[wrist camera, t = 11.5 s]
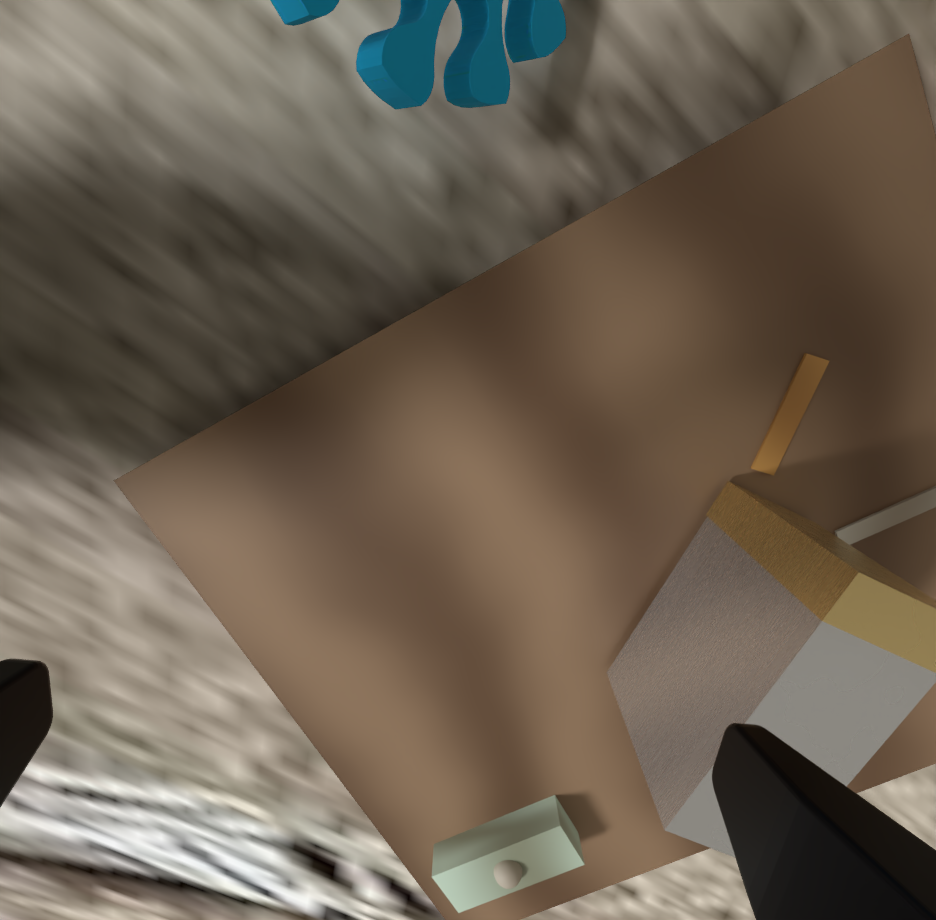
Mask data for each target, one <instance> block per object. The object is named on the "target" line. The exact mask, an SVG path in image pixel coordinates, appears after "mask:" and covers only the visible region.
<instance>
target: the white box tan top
mask: <svg viewBox="0 0 936 920" xmlns="http://www.w3.org/2000/svg"><path fill="white" fill-rule="evenodd" d="M706 516H707V518H706V520H705V521H704V523H703V524H702V526H701V527H700V529H699V531H698V532H697V534H696V535H695V537H694V538H693V540H692V541H691V543H690V544H689V546H688V548H687V549H686V551H685V552H684V554H683V555H682V557H681V558H680V560H679V561H678V563H677V565H676V566H675V568H674V569H673V571H672V572H671V574H670V575H669V577H668V579H667V580H666V582H665V583H664V585H663V586H662V588H661V589H660V591H659V592H658V594H657V596H656V597H655V599H654V600H653V602H652V603H651V605H650V606H649V608H648V609H647V611H646V613H645V614H644V616H643V617H642V619H641V620H640V622H639V623H638V625H637V627H636V628H635V630H634V631H633V633H632V634H631V636H630V637H629V639H628V640H627V642H626V644H625V645H624V647H623V648H622V650H621V651H620V653H619V654H618V656H617V657H616V659H615V661H614V662H613V664H612V665H611V667H610V668H609V670H608V671H607V675H608V678H609V681H610V683H611V686H612V689H613V691H614V694H615V697H616V700H617V702H618V705H619V708H620V711H621V713H622V716H623V719H624V721H625V724H626V727H627V730H628V732H629V735H630V738H631V741H632V743H633V746H634V749H635V751H636V754H637V757H638V760H639V762H640V765H641V768H642V771H643V773H644V776H645V779H646V781H647V784H648V787H649V790H650V792H651V795H652V798H653V801H654V803H655V806H656V809H657V811H658V814H659V817H660V820H661V822H662V825H663V828H664V830H665V831H668V832H670V833H673V834H676V835H678V836H681V837H683V838H686V839H689V840H691V841H694V842H696V843H699V844H702V845H704V846H707V847H709V848H712V849H715V850H717V851H720V852H722V853H725V854H728V855H730V856H733V857H735V854H734V851H733V848H732V845H731V842H730V839H729V836H728V833H727V829H726V826H725V823H724V820H723V817H722V814H721V811H720V807H719V804H718V801H717V798H716V795H715V792H714V788H713V783H712V770H713V766H714V762H715V759H716V756H717V753H718V750H719V747H720V744H721V741H722V738H723V735H724V732H725V729H726V728H727V727H728V725H730V724H732V723H744V724H755V725H760V726H762V727H764V728H765V729H767V730H768V731H770V732H771V733H772V734H774V735H775V736H777V737H778V738H779V739H781V740H782V741H784V742H785V743H786V744H788V745H789V746H791V747H792V748H793V749H795V750H796V751H798V752H799V753H800V754H802V755H803V756H805V757H806V758H807V759H809V760H810V761H812V762H813V763H814V764H816V765H817V766H819V767H820V768H821V769H823V770H824V771H826V772H827V773H828V774H830V775H831V776H833V777H834V778H835V779H837V780H838V781H840V782H841V783H842V784H844V785H845V786H848V784H849V783H850V782H851V781H852V780H853V779H854V777H855V776H856V775H857V774H858V773H859V772H860V770H861V769H862V768H863V767H864V766H865V764H866V763H867V762H868V761H869V760H870V759H871V757H872V756H873V755H874V754H875V753H876V752H877V750H878V749H879V748H880V747H881V746H882V745H883V743H884V742H885V741H886V740H887V739H888V738H889V736H890V735H891V734H892V733H893V732H894V731H895V729H896V728H897V727H898V726H899V725H900V724H901V722H902V721H903V720H904V719H905V718H906V716H907V715H908V714H909V713H910V712H911V711H912V709H913V708H914V707H915V706H916V705H917V704H918V702H919V701H920V700H921V699H922V698H923V697H924V695H925V694H926V693H927V692H928V691H929V690H930V688H931V687H932V686H933V685H934V684H935V683H936V600H934V599H933V598H931V597H930V596H928V595H927V594H925V593H924V592H922V591H920V590H919V589H917V588H916V587H914V586H913V585H911V584H910V583H908V582H906V581H905V580H903V579H902V578H900V577H899V576H897V575H896V574H894V573H893V572H891V571H889V570H888V569H886V568H885V567H883V566H882V565H880V564H879V563H877V562H875V561H874V560H872V559H871V558H869V557H868V556H866V555H865V554H863V553H862V552H860V551H858V550H857V549H855V548H854V547H852V546H851V545H849V544H848V543H846V542H844V541H843V540H841V539H840V538H838V537H837V536H835V535H834V534H832V533H830V532H829V531H827V530H826V529H824V528H823V527H821V526H820V525H818V524H817V523H815V522H813V521H811V520H809V519H807V518H805V517H802V516H800V515H798V514H796V513H794V512H792V511H790V510H788V509H786V508H784V507H782V506H780V505H778V504H775V503H773V502H771V501H769V500H767V499H765V498H763V497H761V496H759V495H757V494H755V493H753V492H751V491H748V490H746V489H744V488H742V487H740V486H738V485H736V484H734V483H732V482H730V481H727V482H726V484H725V486H724V487H723V489H722V490H721V492H720V493H719V495H718V496H717V498H716V500H715V501H714V503H713V504H712V506H711V507H710V509H709V510H708V512H707V514H706Z"/></svg>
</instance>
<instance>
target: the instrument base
mask: <svg viewBox="0 0 936 920" xmlns="http://www.w3.org/2000/svg"><path fill="white" fill-rule="evenodd" d="M727 481H730V482H732V483H734V484H736V485H738V486H740V487H742V488H744V489H746V490H748V491H751V492H753V493H755V494H757V495H759V496H761V497H763V498H765V499H767V500H769V501H771V502H773V503H775V504H778V505H780V506H782V507H784V508H786V509H788V510H790V511H792V512H794V513H796V514H798V515H800V516H802V517H805V518H807V519H809V520H811V521H813V522H815V523H817V524H818V525H820V526H821V527H823V528H824V529H826V530H827V531H829V532H830V533H832V534H834V535H835V536H837V537H838V538H840V539H841V540H843V541H844V542H846V543H848V544H849V545H851V546H852V547H854V548H855V549H857V550H858V551H860V552H862V553H863V554H865V555H866V556H868V557H869V558H871V559H872V560H874V561H875V562H877V563H879V564H880V565H882V566H883V567H885V568H886V569H888V570H889V571H891V572H893V573H894V574H896V575H897V576H899V577H900V578H902V579H903V580H905V581H906V582H908V583H910V584H911V585H913V586H914V587H916V588H917V589H919V590H920V591H922V592H924V593H925V594H927V595H928V596H930V597H931V598H933V599H934V600H936V135H935V132H934V128H933V124H932V120H931V116H930V112H929V108H928V105H927V101H926V97H925V93H924V89H923V85H922V81H921V78H920V74H919V70H918V66H917V62H916V58H915V54H914V51H913V47H912V43H911V39H910V35H909V34H907V35H906V36H904V37H902V38H900V39H899V40H897V41H895V42H893V43H891V44H890V45H888V46H886V47H884V48H883V49H881V50H879V51H877V52H875V53H874V54H872V55H870V56H868V57H866V58H865V59H863V60H861V61H859V62H858V63H856V64H854V65H852V66H850V67H849V68H847V69H845V70H843V71H842V72H840V73H838V74H836V75H834V76H833V77H831V78H829V79H827V80H826V81H824V82H822V83H820V84H818V85H817V86H815V87H813V88H811V89H810V90H808V91H806V92H804V93H802V94H801V95H799V96H797V97H795V98H794V99H792V100H790V101H788V102H786V103H785V104H783V105H781V106H779V107H778V108H776V109H774V110H772V111H770V112H769V113H767V114H765V115H763V116H762V117H760V118H758V119H756V120H754V121H753V122H751V123H749V124H747V125H746V126H744V127H742V128H740V129H738V130H737V131H735V132H733V133H731V134H730V135H728V136H726V137H724V138H722V139H721V140H719V141H717V142H715V143H714V144H712V145H710V146H708V147H706V148H705V149H703V150H701V151H699V152H697V153H696V154H694V155H692V156H690V157H689V158H687V159H685V160H683V161H681V162H680V163H678V164H676V165H674V166H673V167H671V168H669V169H667V170H665V171H664V172H662V173H660V174H658V175H657V176H655V177H653V178H651V179H649V180H648V181H646V182H644V183H642V184H641V185H639V186H637V187H635V188H633V189H632V190H630V191H628V192H626V193H625V194H623V195H621V196H619V197H617V198H616V199H614V200H612V201H610V202H609V203H607V204H605V205H603V206H601V207H600V208H598V209H596V210H594V211H593V212H591V213H589V214H587V215H585V216H584V217H582V218H580V219H578V220H577V221H575V222H573V223H571V224H569V225H568V226H566V227H564V228H562V229H561V230H559V231H557V232H555V233H553V234H552V235H550V236H548V237H546V238H545V239H543V240H541V241H539V242H537V243H536V244H534V245H532V246H530V247H528V248H527V249H525V250H523V251H521V252H520V253H518V254H516V255H514V256H512V257H511V258H509V259H507V260H505V261H504V262H502V263H500V264H498V265H496V266H495V267H493V268H491V269H489V270H488V271H486V272H484V273H482V274H480V275H479V276H477V277H475V278H473V279H472V280H470V281H468V282H466V283H464V284H463V285H461V286H459V287H457V288H456V289H454V290H452V291H450V292H448V293H447V294H445V295H443V296H441V297H440V298H438V299H436V300H434V301H432V302H431V303H429V304H427V305H425V306H424V307H422V308H420V309H418V310H416V311H415V312H413V313H411V314H409V315H408V316H406V317H404V318H402V319H400V320H399V321H397V322H395V323H393V324H392V325H390V326H388V327H386V328H384V329H383V330H381V331H379V332H377V333H376V334H374V335H372V336H370V337H368V338H367V339H365V340H363V341H361V342H359V343H358V344H356V345H354V346H352V347H351V348H349V349H347V350H345V351H343V352H342V353H340V354H338V355H336V356H335V357H333V358H331V359H329V360H327V361H326V362H324V363H322V364H320V365H319V366H317V367H315V368H313V369H311V370H310V371H308V372H306V373H304V374H303V375H301V376H299V377H297V378H295V379H294V380H292V381H290V382H288V383H287V384H285V385H283V386H281V387H279V388H278V389H276V390H274V391H272V392H271V393H269V394H267V395H265V396H263V397H262V398H260V399H258V400H256V401H255V402H253V403H251V404H249V405H247V406H246V407H244V408H242V409H240V410H239V411H237V412H235V413H233V414H231V415H230V416H228V417H226V418H224V419H223V420H221V421H219V422H217V423H215V424H214V425H212V426H210V427H208V428H207V429H205V430H203V431H201V432H199V433H198V434H196V435H194V436H192V437H190V438H189V439H187V440H185V441H183V442H182V443H180V444H178V445H176V446H174V447H173V448H171V449H169V450H167V451H166V452H164V453H162V454H160V455H158V456H157V457H155V458H153V459H151V460H150V461H148V462H146V463H144V464H142V465H141V466H139V467H137V468H135V469H134V470H132V471H130V472H128V473H126V474H125V475H123V476H121V477H119V478H118V479H116V480H114V482H115V483H116V484H117V486H118V487H119V488H120V490H121V491H122V492H123V494H124V495H125V496H126V498H127V499H128V500H129V502H130V503H131V504H132V506H133V507H134V508H135V510H136V511H137V512H138V514H139V515H140V516H141V517H142V519H143V520H144V521H145V523H146V524H147V525H148V527H149V528H150V529H151V531H152V532H153V533H154V535H155V536H156V537H157V539H158V540H159V541H160V543H161V544H162V545H163V547H164V548H165V549H166V551H167V552H168V553H169V555H170V556H171V557H172V559H173V560H174V561H175V562H176V564H177V565H178V566H179V568H180V569H181V570H182V572H183V573H184V574H185V576H186V577H187V578H188V580H189V581H190V582H191V584H192V585H193V586H194V588H195V589H196V590H197V592H198V593H199V594H200V596H201V597H202V598H203V600H204V601H205V602H206V603H207V605H208V606H209V607H210V609H211V610H212V611H213V613H214V614H215V615H216V617H217V618H218V619H219V621H220V622H221V623H222V625H223V626H224V627H225V629H226V630H227V631H228V633H229V634H230V635H231V637H232V638H233V639H234V641H235V642H236V643H237V644H238V646H239V647H240V648H241V650H242V651H243V652H244V654H245V655H246V656H247V658H248V659H249V660H250V662H251V663H252V664H253V666H254V667H255V668H256V670H257V671H258V672H259V674H260V675H261V676H262V678H263V679H264V680H265V682H266V683H267V684H268V685H269V687H270V688H271V689H272V691H273V692H274V693H275V695H276V696H277V697H278V699H279V700H280V701H281V703H282V704H283V705H284V707H285V708H286V709H287V711H288V712H289V713H290V715H291V716H292V717H293V719H294V720H295V721H296V723H297V724H298V725H299V727H300V728H301V729H302V730H303V732H304V733H305V734H306V736H307V737H308V738H309V740H310V741H311V742H312V744H313V745H314V746H315V748H316V749H317V750H318V752H319V753H320V754H321V756H322V757H323V758H324V760H325V761H326V762H327V764H328V765H329V766H330V768H331V769H332V770H333V771H334V773H335V774H336V775H337V777H338V778H339V779H340V781H341V782H342V783H343V785H344V786H345V787H346V789H347V790H348V791H349V793H350V794H351V795H352V797H353V798H354V799H355V801H356V802H357V803H358V805H359V806H360V807H361V809H362V810H363V811H364V812H365V814H366V815H367V816H368V818H369V819H370V820H371V822H372V823H373V824H374V826H375V827H376V828H377V830H378V831H379V832H380V834H381V835H382V836H383V838H384V839H385V840H386V842H387V843H388V844H389V846H390V847H391V848H392V850H393V851H394V852H395V854H396V855H397V856H398V857H399V859H400V860H401V861H402V863H403V864H404V865H405V867H406V868H407V869H408V871H409V872H410V873H411V875H412V876H413V877H414V879H415V880H416V881H417V883H418V884H419V885H420V887H421V888H422V889H423V891H424V892H425V893H426V895H427V896H428V897H429V898H430V900H431V901H432V902H433V904H434V905H435V906H436V908H437V909H438V910H439V912H440V913H441V914H442V916H443V917H444V918H445V920H520V919H523V918H525V917H528V916H531V915H533V914H536V913H539V912H541V911H544V910H547V909H549V908H552V907H555V906H557V905H560V904H563V903H565V902H568V901H571V900H573V899H576V898H579V897H581V896H584V895H587V894H589V893H592V892H595V891H597V890H600V889H603V888H605V887H608V886H611V885H613V884H616V883H619V882H621V881H624V880H627V879H629V878H632V877H635V876H637V875H640V874H643V873H645V872H648V871H651V870H653V869H656V868H658V867H661V866H664V865H666V864H669V863H672V862H674V861H677V860H680V859H682V858H685V857H688V856H690V855H693V854H696V853H698V852H701V851H704V850H706V849H709V847H707V846H704V845H702V844H699V843H696V842H694V841H691V840H689V839H686V838H683V837H681V836H678V835H676V834H673V833H670V832H668V831H665V830H664V828H663V825H662V822H661V820H660V817H659V814H658V811H657V809H656V806H655V803H654V801H653V798H652V795H651V792H650V790H649V787H648V784H647V781H646V779H645V776H644V773H643V771H642V768H641V765H640V762H639V760H638V757H637V754H636V751H635V749H634V746H633V743H632V741H631V738H630V735H629V732H628V730H627V727H626V724H625V721H624V719H623V716H622V713H621V711H620V708H619V705H618V702H617V700H616V697H615V694H614V691H613V689H612V686H611V683H610V681H609V678H608V675H607V671H608V670H609V668H610V667H611V665H612V664H613V662H614V661H615V659H616V657H617V656H618V654H619V653H620V651H621V650H622V648H623V647H624V645H625V644H626V642H627V640H628V639H629V637H630V636H631V634H632V633H633V631H634V630H635V628H636V627H637V625H638V623H639V622H640V620H641V619H642V617H643V616H644V614H645V613H646V611H647V609H648V608H649V606H650V605H651V603H652V602H653V600H654V599H655V597H656V596H657V594H658V592H659V591H660V589H661V588H662V586H663V585H664V583H665V582H666V580H667V579H668V577H669V575H670V574H671V572H672V571H673V569H674V568H675V566H676V565H677V563H678V561H679V560H680V558H681V557H682V555H683V554H684V552H685V551H686V549H687V548H688V546H689V544H690V543H691V541H692V540H693V538H694V537H695V535H696V534H697V532H698V531H699V529H700V527H701V526H702V524H703V523H704V521H705V520H706V518H707V516H706V514H707V512H708V510H709V509H710V507H711V506H712V504H713V503H714V501H715V500H716V498H717V496H718V495H719V493H720V492H721V490H722V489H723V487H724V486H725V484H726V482H727ZM935 763H936V683H935V684H934V685H933V686H932V687H931V688H930V690H929V691H928V692H927V693H926V694H925V695H924V697H923V698H922V699H921V700H920V701H919V702H918V704H917V705H916V706H915V707H914V708H913V709H912V711H911V712H910V713H909V714H908V715H907V716H906V718H905V719H904V720H903V721H902V722H901V724H900V725H899V726H898V727H897V728H896V729H895V731H894V732H893V733H892V734H891V735H890V736H889V738H888V739H887V740H886V741H885V742H884V743H883V745H882V746H881V747H880V748H879V749H878V750H877V752H876V753H875V754H874V755H873V756H872V757H871V759H870V760H869V761H868V762H867V763H866V764H865V766H864V767H863V768H862V769H861V770H860V772H859V773H858V774H857V775H856V776H855V777H854V779H853V780H852V781H851V782H850V783H849V784H848V786H847V787H848V788H849V789H851V790H852V791H854V792H855V793H858V792H861V791H864V790H866V789H869V788H872V787H874V786H877V785H880V784H882V783H885V782H888V781H890V780H893V779H895V778H898V777H901V776H903V775H906V774H909V773H911V772H914V771H917V770H919V769H922V768H925V767H927V766H930V765H933V764H935Z"/></svg>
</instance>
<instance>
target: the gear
mask: <svg viewBox="0 0 936 920" xmlns="http://www.w3.org/2000/svg"><path fill="white" fill-rule="evenodd" d="M450 1H451V0H401V12H400V16H399V20H398V22H397V23H396V25H395V26H394V27H393V28H390V29H387V30H383V31H380V32H377V33H373V34H371V35H369V36H367V37H366V38H365V39H364V40H363V42H362V43H361V45H360V47H359V50H358V53H357V61H356V67H357V72H358V73H359V75H360V76H361V78H362V79H363V81H364V82H365V84H366V85H367V86H368V87H369V88H370V89H371V90H372V91H373V92H374V93H375V94H376V95H377V96H378V97H379V98H381V99H382V100H383V101H384V102H386V103H387V104H389V105H390V106H392V107H393V108H394V109H402V108H409V107H416V106H421V105H422V104H424V103H425V102H426V101H427V99H428V97H429V96H430V94H431V91H432V88H433V82H434V55H435V44H436V39H437V34H438V29H439V26H440V23H441V20H442V17H443V14H444V12H445V10H446V8H447V6H448V4H449V2H450ZM455 1H456V3H457V5H458V7H459V10H460V13H461V19H462V33H461V37H460V41H459V43H458V45H457V46H456V48H455V50H454V51H453V53H452V54H451V56H450V57H449V59H448V61H447V63H446V67H445V71H444V90H445V95H446V98H447V101H449V102H450V103H452V104H453V105H456V106H459V107H465V108H473V107H483V106H490V105H498V104H506V102H507V99H508V96H509V90H510V75H509V69H508V65H507V61H506V57H505V51H504V45H503V37H502V3H503V0H455ZM271 2H272V4H273V5H274V7H275V9H276V10H277V12H278V13H279V15H280V17H281V18H282V20H283V22H284V23H285V24H287V25H293V26H294V25H299V24H303V23H305V22H308V21H311V20H314V19H316V18H319V17H322V16H325V15H327V14H328V13H330V12H331V11H333V10H334V8H335V7H336V5H337V4H338V2H339V0H271ZM565 38H566V23H565V16H564V12H563V9H562V6H561V4H560V2H559V0H509V2H508V9H507V15H506V22H505V43H506V48H507V52H508V54H509V57H510V59H511V60H512V62H513V63H515V62H520V61H526V60H531V59H536V58H541V57H546V56H548V55H549V54H551V53H552V52H553V51H554V50H555V49H556V48H557V47H558V46H559V45H560V44H561V43H562V41H563V40H564V39H565Z"/></svg>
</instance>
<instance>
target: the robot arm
mask: <svg viewBox="0 0 936 920" xmlns="http://www.w3.org/2000/svg"><path fill="white" fill-rule="evenodd" d="M52 718H53V707H52V697H51V688H50V678H49V671H48V668H47V666H46V665H45V663H43V662H41V661H36V660H24V659H6V660H3V661H0V807H1V806H2V804H3V803H4V801H5V799H6V798H7V796H8V795H9V793H10V792H11V790H12V788H13V787H14V785H15V784H16V782H17V781H18V779H19V778H20V776H21V774H22V773H23V771H24V770H25V768H26V767H27V765H28V763H29V762H30V760H31V759H32V757H33V756H34V754H35V753H36V751H37V749H38V748H39V746H40V745H41V743H42V742H43V740H44V738H45V737H46V735H47V733H48V731H49V729H50V726H51V723H52ZM712 783H713V788H714V792H715V795H716V798H717V801H718V804H719V807H720V811H721V814H722V817H723V820H724V823H725V826H726V829H727V833H728V836H729V839H730V842H731V845H732V848H733V851H734V854H735V858H736V861H737V864H738V867H739V870H740V873H741V876H742V879H743V883H744V886H745V889H746V892H747V895H748V898H749V901H750V904H751V906H752V909H753V912H754V915H755V918H756V920H936V850H935V849H933V848H932V847H930V846H929V845H928V844H926V843H925V842H923V841H922V840H921V839H919V838H918V837H916V836H915V835H914V834H912V833H911V832H909V831H908V830H907V829H905V828H904V827H903V826H901V825H900V824H898V823H897V822H896V821H894V820H893V819H891V818H890V817H889V816H887V815H886V814H884V813H883V812H882V811H880V810H879V809H877V808H876V807H875V806H873V805H872V804H870V803H869V802H868V801H866V800H865V799H863V798H862V797H861V796H859V795H858V794H856V793H855V792H854V791H852V790H851V789H849V788H848V787H847V786H845V785H844V784H842V783H841V782H840V781H838V780H837V779H835V778H834V777H833V776H831V775H830V774H828V773H827V772H826V771H824V770H823V769H821V768H820V767H819V766H817V765H816V764H814V763H813V762H812V761H810V760H809V759H807V758H806V757H805V756H803V755H802V754H800V753H799V752H798V751H796V750H795V749H793V748H792V747H791V746H789V745H788V744H786V743H785V742H784V741H782V740H781V739H779V738H778V737H777V736H775V735H774V734H772V733H771V732H770V731H768V730H767V729H765V728H764V727H762V726H760V725H755V724H744V723H732V724H730V725H728V727H727V728H726V729H725V732H724V735H723V738H722V741H721V744H720V747H719V750H718V753H717V756H716V759H715V762H714V766H713V770H712Z"/></svg>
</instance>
